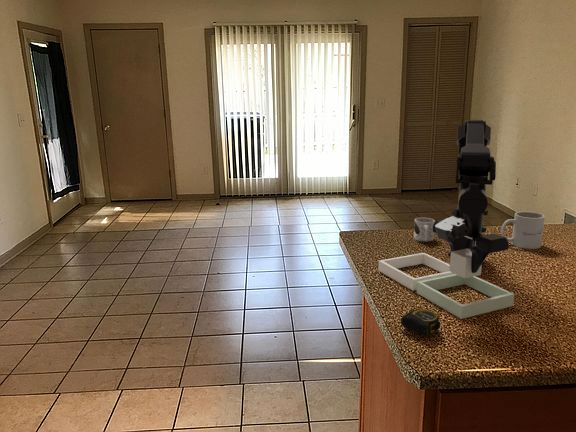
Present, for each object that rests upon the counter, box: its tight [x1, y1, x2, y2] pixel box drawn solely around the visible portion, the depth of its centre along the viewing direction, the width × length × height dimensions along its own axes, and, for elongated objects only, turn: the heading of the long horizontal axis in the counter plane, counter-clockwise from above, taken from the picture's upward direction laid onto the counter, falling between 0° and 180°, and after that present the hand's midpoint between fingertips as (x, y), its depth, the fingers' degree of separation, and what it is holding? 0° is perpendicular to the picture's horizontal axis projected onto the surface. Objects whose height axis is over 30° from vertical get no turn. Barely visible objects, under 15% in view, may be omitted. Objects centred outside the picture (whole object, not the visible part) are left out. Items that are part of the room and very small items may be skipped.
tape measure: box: [400, 308, 441, 338], centre depth 101 cm, size 7×7×4 cm
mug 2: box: [500, 211, 546, 250], centre depth 155 cm, size 12×9×10 cm
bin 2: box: [416, 274, 515, 320], centre depth 116 cm, size 16×16×3 cm
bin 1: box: [377, 252, 454, 292], centre depth 131 cm, size 16×16×3 cm
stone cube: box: [449, 249, 483, 278], centre depth 114 cm, size 5×5×5 cm
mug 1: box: [413, 217, 436, 243], centre depth 161 cm, size 10×7×7 cm, turn 172°
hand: (465, 268), depth 114 cm, fingers closed on stone cube, 5 cm apart
